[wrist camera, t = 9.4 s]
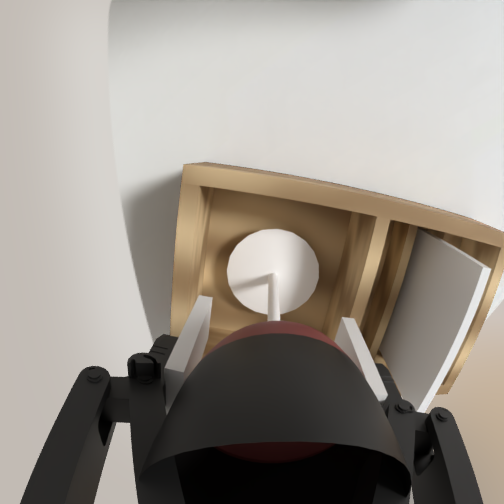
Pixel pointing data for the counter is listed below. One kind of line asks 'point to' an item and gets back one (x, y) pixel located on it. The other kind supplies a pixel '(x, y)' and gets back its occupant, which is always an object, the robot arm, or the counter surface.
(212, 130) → the counter surface
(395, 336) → the white flat panel
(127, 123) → the counter surface
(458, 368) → the wooden divided tray
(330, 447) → the wineglass
